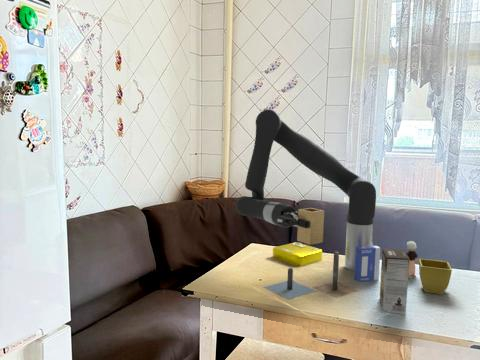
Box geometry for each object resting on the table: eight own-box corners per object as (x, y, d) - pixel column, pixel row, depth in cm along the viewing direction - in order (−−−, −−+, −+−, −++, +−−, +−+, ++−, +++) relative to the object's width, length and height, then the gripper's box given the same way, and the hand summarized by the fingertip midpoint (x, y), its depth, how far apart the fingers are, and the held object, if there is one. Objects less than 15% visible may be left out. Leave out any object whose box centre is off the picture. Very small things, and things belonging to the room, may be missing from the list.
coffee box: (378, 299, 126) (381, 247, 124) (401, 301, 124) (404, 249, 122) (382, 312, 117) (386, 256, 115) (407, 314, 115) (410, 258, 114)
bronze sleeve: (309, 238, 134) (311, 207, 133) (322, 242, 130) (324, 210, 129) (297, 240, 131) (298, 209, 130) (310, 244, 127) (311, 212, 125)
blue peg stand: (290, 280, 140) (291, 260, 139) (317, 292, 131) (317, 269, 130) (263, 288, 133) (263, 266, 132) (288, 300, 124) (289, 277, 123)
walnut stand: (333, 282, 139) (334, 246, 138) (357, 291, 131) (359, 253, 130) (312, 288, 134) (313, 250, 132) (336, 298, 126) (338, 258, 124)
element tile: (270, 258, 167) (270, 246, 166) (295, 251, 176) (296, 240, 176) (298, 267, 155) (299, 255, 155) (324, 260, 165) (324, 248, 165)
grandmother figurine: (408, 272, 151) (410, 238, 149) (419, 275, 148) (421, 240, 146) (399, 277, 145) (401, 242, 144) (410, 280, 142) (412, 244, 141)
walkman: (358, 282, 140) (360, 247, 138) (354, 279, 142) (355, 245, 141) (379, 281, 141) (381, 246, 140) (375, 278, 144) (377, 244, 143)
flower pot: (446, 288, 136) (448, 261, 135) (450, 298, 128) (452, 269, 127) (417, 284, 139) (418, 258, 138) (419, 293, 131) (420, 266, 130)
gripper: (263, 205, 137) (299, 214, 123) (295, 201, 145) (332, 209, 132) (262, 227, 138) (298, 238, 124) (294, 222, 146) (330, 232, 133)
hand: (315, 223), depth 128 cm, fingers closed on bronze sleeve, 5 cm apart
